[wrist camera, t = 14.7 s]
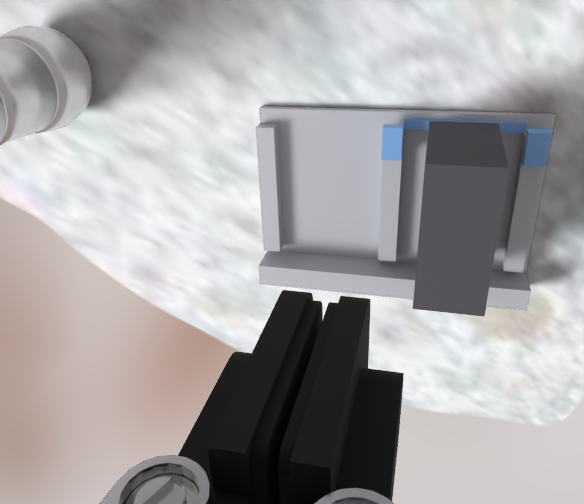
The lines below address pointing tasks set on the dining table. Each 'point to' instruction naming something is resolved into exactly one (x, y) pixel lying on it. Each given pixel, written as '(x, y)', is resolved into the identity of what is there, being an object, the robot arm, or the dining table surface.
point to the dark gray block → (459, 216)
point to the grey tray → (380, 197)
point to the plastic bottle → (40, 81)
